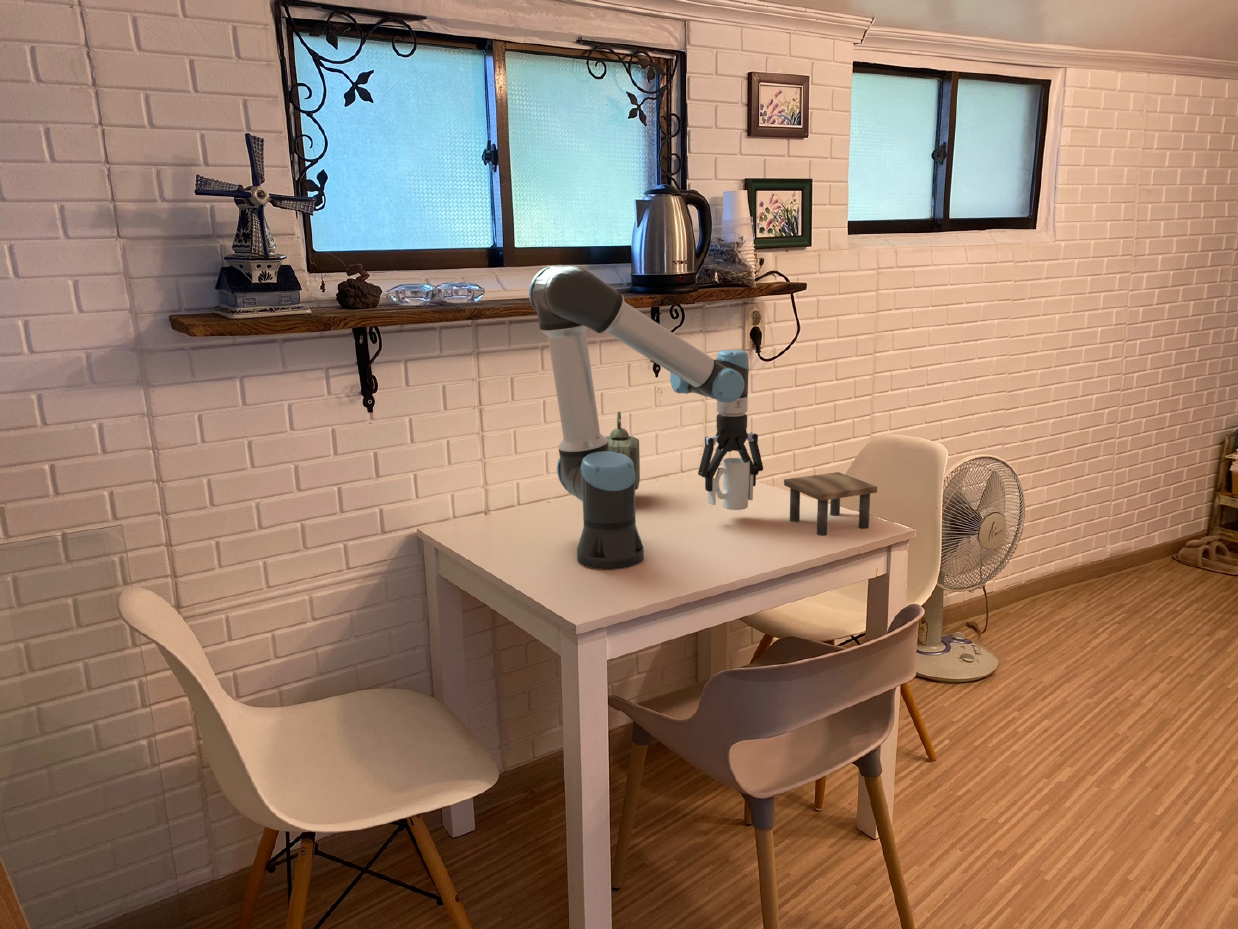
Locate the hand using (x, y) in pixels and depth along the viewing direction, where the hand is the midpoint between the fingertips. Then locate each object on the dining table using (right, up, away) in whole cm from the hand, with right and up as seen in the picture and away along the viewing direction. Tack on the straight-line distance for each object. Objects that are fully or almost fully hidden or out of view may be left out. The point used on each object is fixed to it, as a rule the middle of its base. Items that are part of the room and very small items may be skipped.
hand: (730, 501), depth 232 cm
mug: (0, -2, 0) cm, 2 cm away
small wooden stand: (+24, -5, -3) cm, 25 cm away
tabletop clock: (-27, -1, +21) cm, 34 cm away
